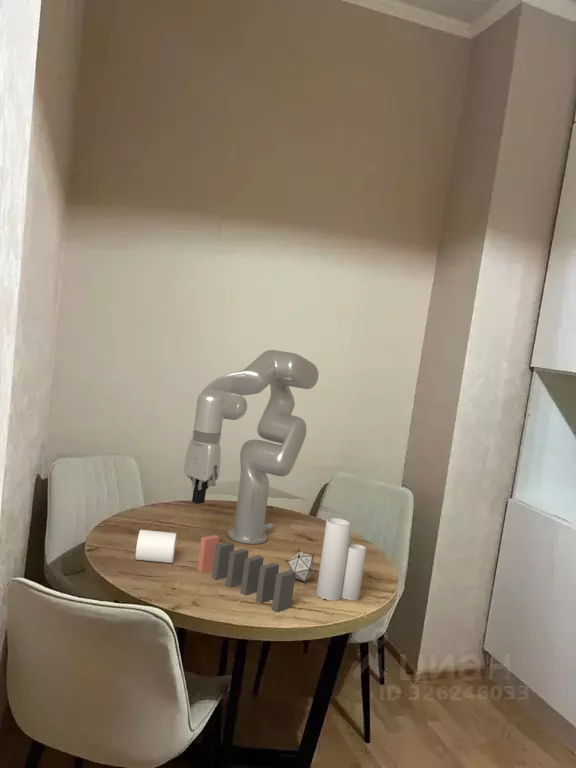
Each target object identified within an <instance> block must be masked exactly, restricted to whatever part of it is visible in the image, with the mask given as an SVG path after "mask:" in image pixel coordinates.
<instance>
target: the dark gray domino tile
mask: <svg viewBox="0 0 576 768" xmlns="http://www.w3.org/2000/svg"><path fill="white" fill-rule="evenodd" d="M249 551H250V550H248V549H247V548H240V549H236V550H234V551H231V552H230V557H229V564H228V572H227V577H226V581H225V586H226V587H228V588H230V589H231V588H235V587H238V586H241V585H242V577H243V570H244V562H245V559H246V558H249Z"/></svg>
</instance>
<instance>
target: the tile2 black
mask: <svg viewBox="0 0 576 768" xmlns="http://www.w3.org/2000/svg"><path fill="white" fill-rule="evenodd" d="M234 549H235V543H233V542H231V541H228V542H222V543H219V544H218V545H216V549H215V556H214V564H213V569H212V574H211V579H214V580H215V581H218V580H221V579H225V578H226V579H227V572H228V564H229V557H230V552H231V551H235V550H234Z"/></svg>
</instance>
